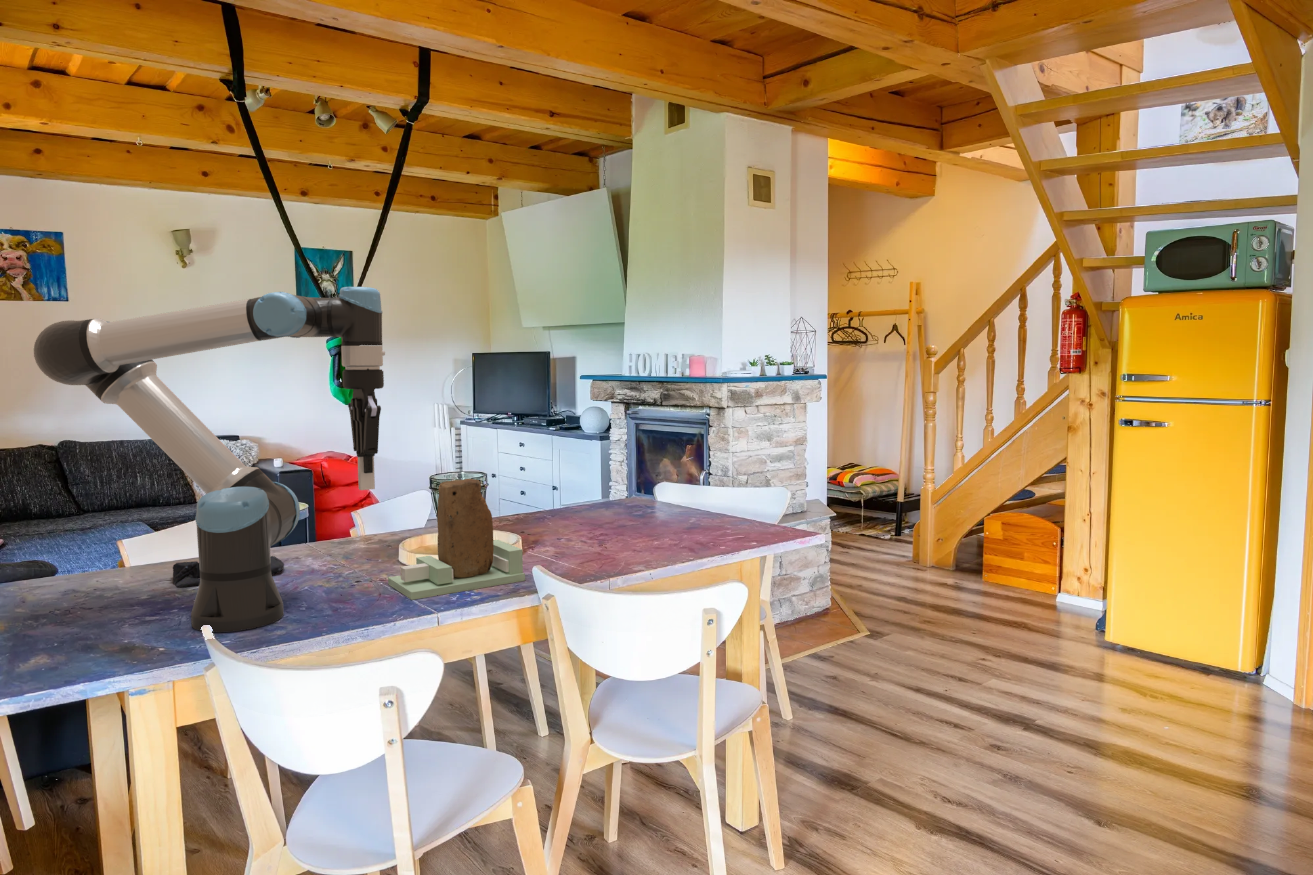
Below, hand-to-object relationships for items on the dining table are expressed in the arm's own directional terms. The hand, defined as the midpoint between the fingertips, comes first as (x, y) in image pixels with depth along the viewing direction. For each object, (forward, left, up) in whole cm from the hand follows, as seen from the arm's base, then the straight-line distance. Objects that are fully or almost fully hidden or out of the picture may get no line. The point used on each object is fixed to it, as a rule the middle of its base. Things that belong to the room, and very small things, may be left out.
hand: (366, 489), depth 172 cm
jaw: (+11, 0, -20) cm, 22 cm away
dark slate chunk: (-20, +35, -22) cm, 46 cm away
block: (+20, 0, -20) cm, 29 cm away
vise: (+19, 0, -22) cm, 29 cm away
